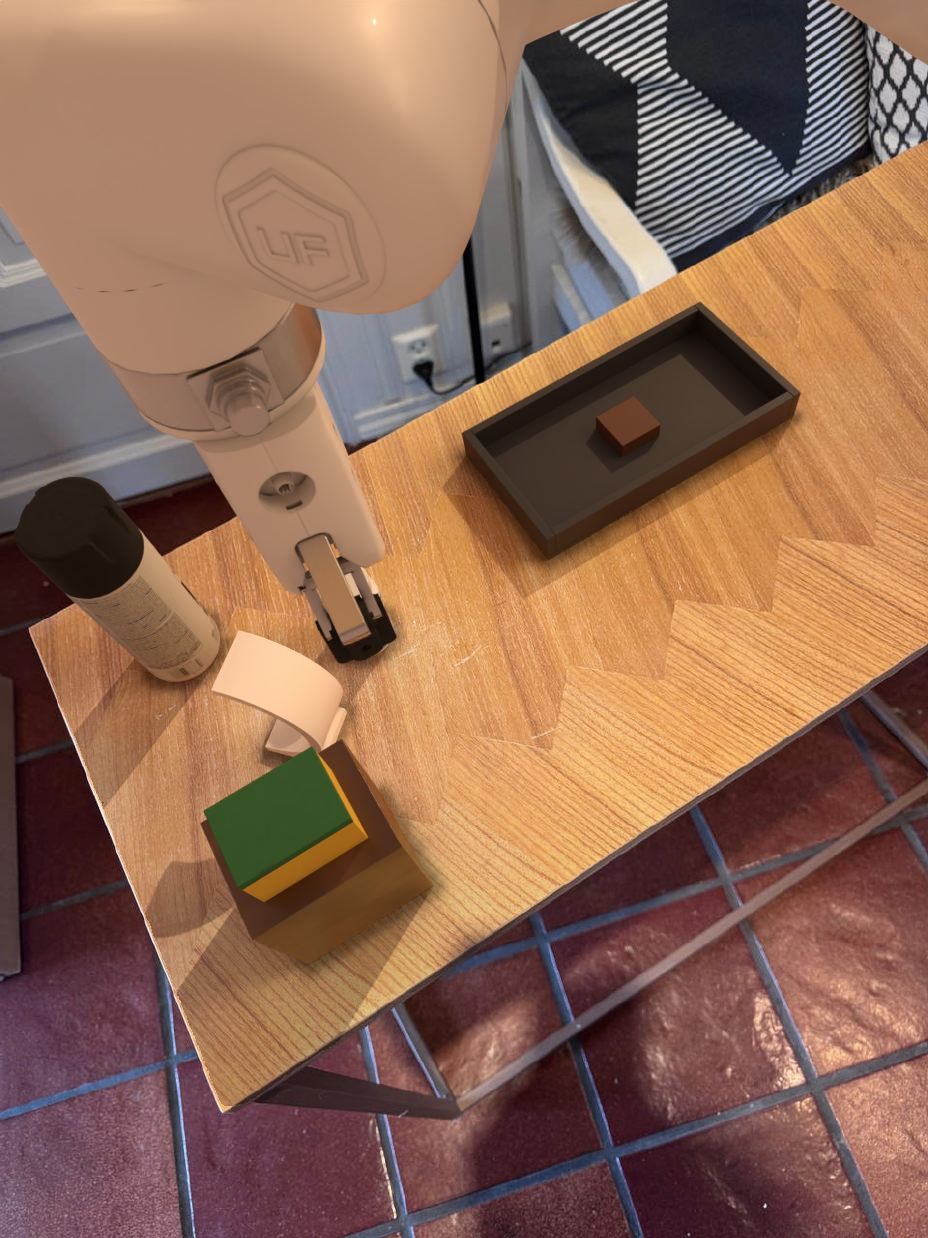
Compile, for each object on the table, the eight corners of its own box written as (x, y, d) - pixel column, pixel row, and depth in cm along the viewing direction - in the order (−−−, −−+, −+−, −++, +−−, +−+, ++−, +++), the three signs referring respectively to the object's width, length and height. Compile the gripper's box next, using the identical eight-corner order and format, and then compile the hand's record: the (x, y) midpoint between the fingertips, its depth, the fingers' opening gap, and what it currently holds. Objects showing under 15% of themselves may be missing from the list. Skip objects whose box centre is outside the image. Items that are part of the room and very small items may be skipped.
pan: (696, 326, 84) (700, 300, 81) (793, 416, 77) (801, 392, 75) (465, 454, 80) (461, 432, 77) (548, 560, 74) (546, 540, 71)
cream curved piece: (290, 697, 71) (238, 629, 60) (359, 715, 69) (319, 649, 59) (267, 750, 69) (210, 690, 58) (338, 770, 67) (292, 711, 57)
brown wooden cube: (381, 793, 66) (342, 738, 56) (433, 886, 63) (402, 846, 52) (262, 865, 65) (199, 823, 54) (309, 965, 61) (251, 940, 51)
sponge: (331, 770, 55) (311, 745, 51) (368, 838, 53) (350, 818, 49) (230, 830, 54) (202, 810, 50) (264, 902, 52) (237, 887, 48)
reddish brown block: (632, 406, 79) (633, 395, 78) (659, 435, 78) (661, 424, 76) (595, 427, 79) (595, 416, 77) (622, 457, 77) (622, 446, 76)
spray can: (235, 621, 75) (127, 479, 57) (204, 693, 72) (80, 568, 54) (166, 607, 76) (40, 464, 59) (132, 677, 74) (-10, 550, 56)
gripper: (397, 460, 28) (465, 678, 43) (242, 163, 36) (344, 433, 51) (175, 557, 27) (323, 744, 42) (68, 232, 35) (223, 485, 50)
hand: (334, 574), depth 47 cm, fingers open, 9 cm apart
